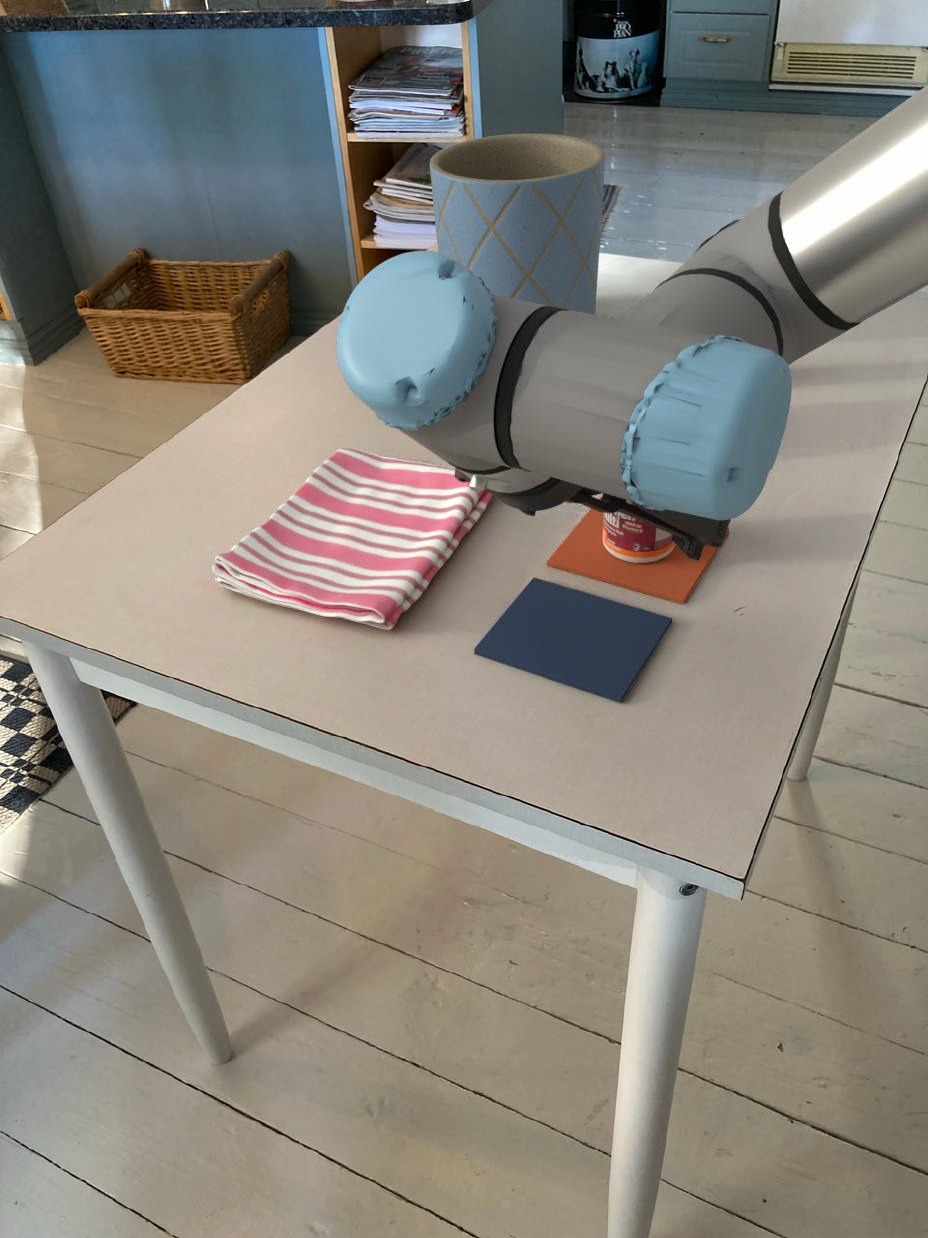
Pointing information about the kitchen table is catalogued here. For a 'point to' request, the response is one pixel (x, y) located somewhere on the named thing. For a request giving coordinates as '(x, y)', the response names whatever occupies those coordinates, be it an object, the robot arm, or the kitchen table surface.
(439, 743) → the kitchen table surface
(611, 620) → the slate blue mat
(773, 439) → the robot arm
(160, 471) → the kitchen table surface
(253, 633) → the kitchen table surface
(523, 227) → the planter
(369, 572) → the dish towel
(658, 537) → the pill bottle
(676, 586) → the terracotta mat
